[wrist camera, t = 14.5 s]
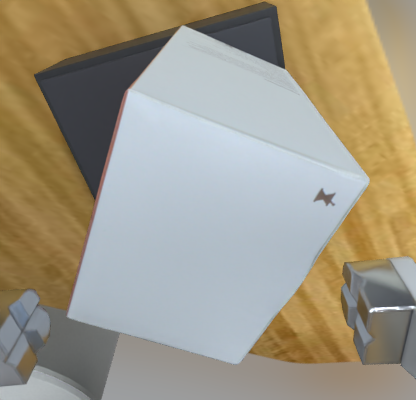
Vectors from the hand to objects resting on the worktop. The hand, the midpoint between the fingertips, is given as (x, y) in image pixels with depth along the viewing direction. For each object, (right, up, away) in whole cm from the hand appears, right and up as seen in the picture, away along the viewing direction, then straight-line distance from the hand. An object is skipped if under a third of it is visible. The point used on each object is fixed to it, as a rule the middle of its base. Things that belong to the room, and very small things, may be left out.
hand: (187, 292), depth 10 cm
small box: (+1, +8, +12) cm, 14 cm away
